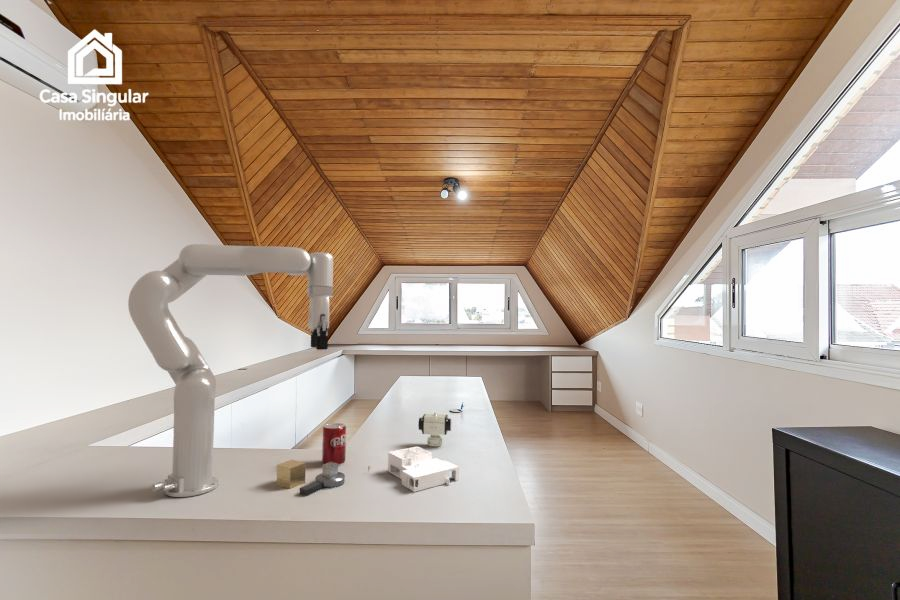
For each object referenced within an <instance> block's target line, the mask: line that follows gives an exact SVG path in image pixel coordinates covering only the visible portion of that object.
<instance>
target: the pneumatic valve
mask: <svg viewBox="0 0 900 600" xmlns="http://www.w3.org/2000/svg"><path fill="white" fill-rule="evenodd" d="M418 430H419V431H421V434H422V435H429V437H427V440H426V441H427V442H426V443H427V445H428V446H429V447H435V448H439V447H440V446H441V445H443V437H442V435H443V436H446V435H447V434H448V432H451V431H452V418H449V416H448V414H437V412H433V414H432V413H424V414H423V416H422V417H419V418H418Z"/></svg>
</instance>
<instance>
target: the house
mask: <svg viewBox="0 0 900 600" xmlns="http://www.w3.org/2000/svg"><path fill="white" fill-rule="evenodd" d="M387 453H388V454H387V455H388V458H387V460H388V461H387V463H388V464H387V472H388V473H390V474H392V475H393V476H394V477H396V478H399V479H400V480H401V485H402V486H404V487H405V488H406V489H409V490H410V491H412V492H413V493H415V492H420V491H423V490H426V489H431V488H433V487H438V486H441V485H445V483H446V485H448V486H450V485H451V484H450V482H451V481H450V480H451V479H453V478H454V479H453V480H454V481H455V482H457V481H459V471H460V469H459V466H458V465H456V464H454V463H452V462H449V461H448V460H441V459H439V458H437V457H436V458H433V452H431V451H428V450H427V449H425V448H423V447H420V446H413V447H412V446H411V447H408V448H403V449H397V450H392V451H388V452H387ZM370 468H371V467H370V466H368V467H367V469H368V470H367V471H370ZM450 472H451V479H450V478H449V476H450Z"/></svg>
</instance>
